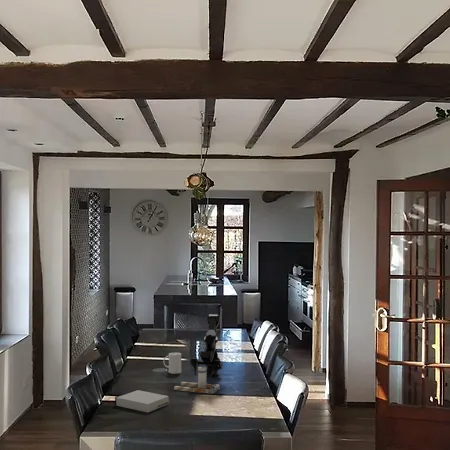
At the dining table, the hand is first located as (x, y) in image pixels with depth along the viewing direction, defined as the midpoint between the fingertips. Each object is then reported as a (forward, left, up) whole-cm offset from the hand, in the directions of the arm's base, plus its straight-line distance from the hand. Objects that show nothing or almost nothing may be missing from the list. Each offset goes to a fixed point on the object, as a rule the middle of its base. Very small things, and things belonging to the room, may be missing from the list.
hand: (202, 376), depth 344 cm
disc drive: (+43, +2, -9) cm, 43 cm away
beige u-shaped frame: (+2, -2, -8) cm, 8 cm away
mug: (-11, -45, -8) cm, 47 cm away
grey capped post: (0, 0, -8) cm, 8 cm away
